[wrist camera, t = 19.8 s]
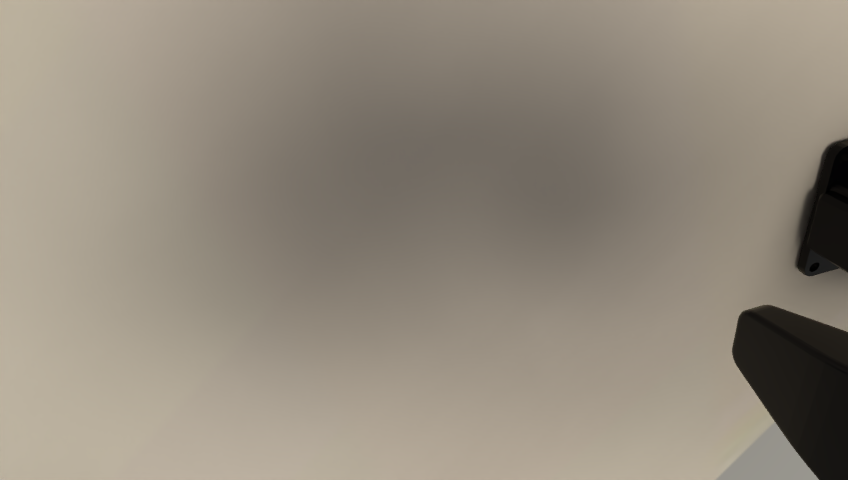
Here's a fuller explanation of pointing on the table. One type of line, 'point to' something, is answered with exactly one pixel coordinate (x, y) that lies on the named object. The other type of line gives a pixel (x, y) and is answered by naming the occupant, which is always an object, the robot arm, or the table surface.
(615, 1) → the table surface
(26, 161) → the table surface
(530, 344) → the table surface
